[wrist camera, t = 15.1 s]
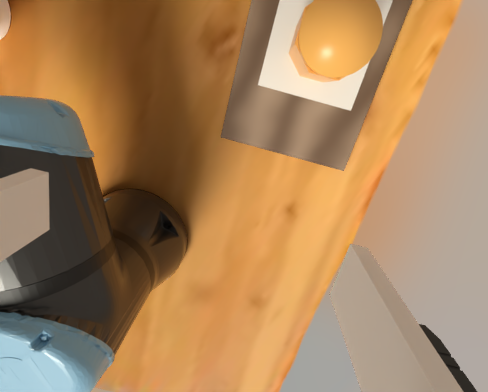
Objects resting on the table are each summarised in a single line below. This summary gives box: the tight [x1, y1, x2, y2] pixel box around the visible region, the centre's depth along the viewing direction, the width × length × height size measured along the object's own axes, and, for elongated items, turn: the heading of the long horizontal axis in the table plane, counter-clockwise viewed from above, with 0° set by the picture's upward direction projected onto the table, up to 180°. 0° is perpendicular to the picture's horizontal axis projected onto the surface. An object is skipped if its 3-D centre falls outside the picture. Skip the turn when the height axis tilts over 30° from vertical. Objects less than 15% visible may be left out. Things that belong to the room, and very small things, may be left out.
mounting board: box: [221, 0, 412, 171], centre depth 32 cm, size 16×24×2 cm, turn 165°
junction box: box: [258, 0, 393, 111], centre depth 27 cm, size 10×10×9 cm
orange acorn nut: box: [289, 0, 383, 82], centre depth 24 cm, size 6×6×8 cm
